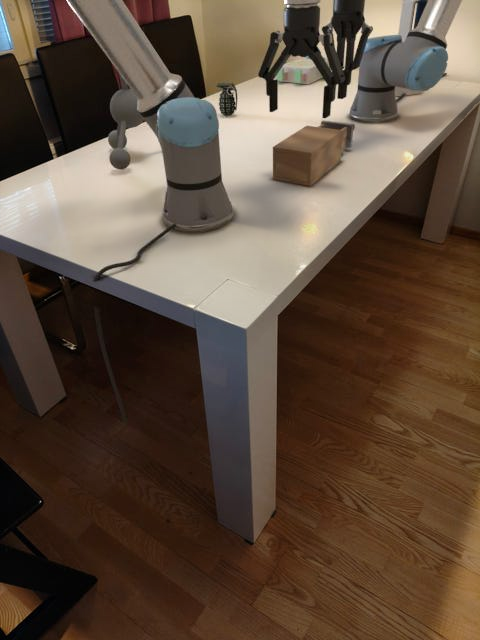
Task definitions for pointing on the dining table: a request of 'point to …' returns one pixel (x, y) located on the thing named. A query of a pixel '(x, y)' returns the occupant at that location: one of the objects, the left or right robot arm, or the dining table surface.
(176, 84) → the left robot arm
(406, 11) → the electronic device
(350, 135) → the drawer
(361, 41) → the right robot arm
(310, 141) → the brown wooden box
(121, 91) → the molecular model
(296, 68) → the decorative block
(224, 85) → the grenade
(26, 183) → the dining table surface
